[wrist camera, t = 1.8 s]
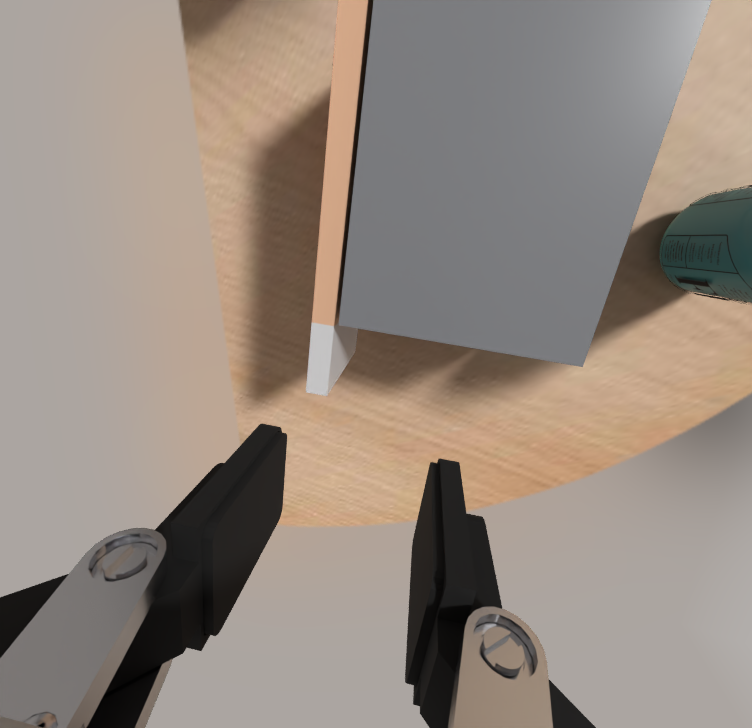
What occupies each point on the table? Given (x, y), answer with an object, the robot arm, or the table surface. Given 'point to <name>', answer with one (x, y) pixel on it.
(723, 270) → the beverage bottle
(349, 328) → the door
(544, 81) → the grey smooth box
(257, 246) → the table surface
